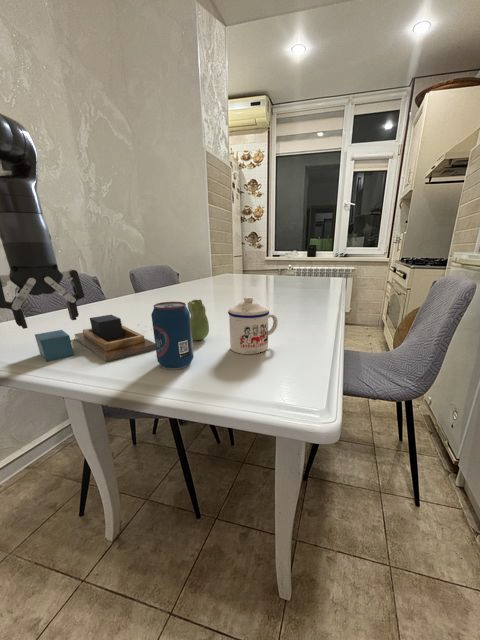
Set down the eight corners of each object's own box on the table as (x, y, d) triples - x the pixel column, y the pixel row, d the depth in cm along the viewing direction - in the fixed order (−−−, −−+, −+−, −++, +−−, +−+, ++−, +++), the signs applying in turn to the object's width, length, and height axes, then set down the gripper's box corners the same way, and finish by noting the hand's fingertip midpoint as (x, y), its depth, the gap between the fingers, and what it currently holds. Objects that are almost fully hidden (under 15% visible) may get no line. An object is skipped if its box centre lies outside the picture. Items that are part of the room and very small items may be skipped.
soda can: (151, 363, 58) (143, 304, 54) (182, 354, 63) (176, 299, 58) (169, 374, 53) (161, 310, 49) (200, 363, 58) (196, 304, 54)
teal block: (46, 361, 59) (40, 340, 58) (40, 354, 63) (34, 334, 61) (74, 355, 62) (69, 335, 61) (66, 348, 66) (61, 329, 65)
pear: (212, 340, 72) (210, 300, 68) (191, 344, 69) (187, 302, 66) (205, 335, 76) (202, 296, 73) (185, 338, 74) (181, 298, 70)
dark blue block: (101, 341, 68) (98, 322, 66) (93, 335, 72) (89, 317, 70) (123, 336, 71) (120, 318, 69) (114, 331, 75) (111, 314, 73)
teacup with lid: (240, 358, 61) (238, 303, 57) (223, 345, 68) (220, 296, 64) (287, 348, 67) (288, 297, 62) (266, 337, 74) (267, 291, 70)
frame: (106, 362, 59) (103, 349, 58) (75, 338, 73) (72, 328, 72) (157, 348, 66) (155, 337, 65) (119, 329, 81) (118, 320, 80)
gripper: (65, 240, 62) (82, 314, 68) (-26, 240, 52) (3, 327, 58) (75, 240, 57) (93, 320, 63) (-23, 240, 47) (8, 334, 53)
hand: (50, 323), depth 60 cm, fingers open, 8 cm apart
